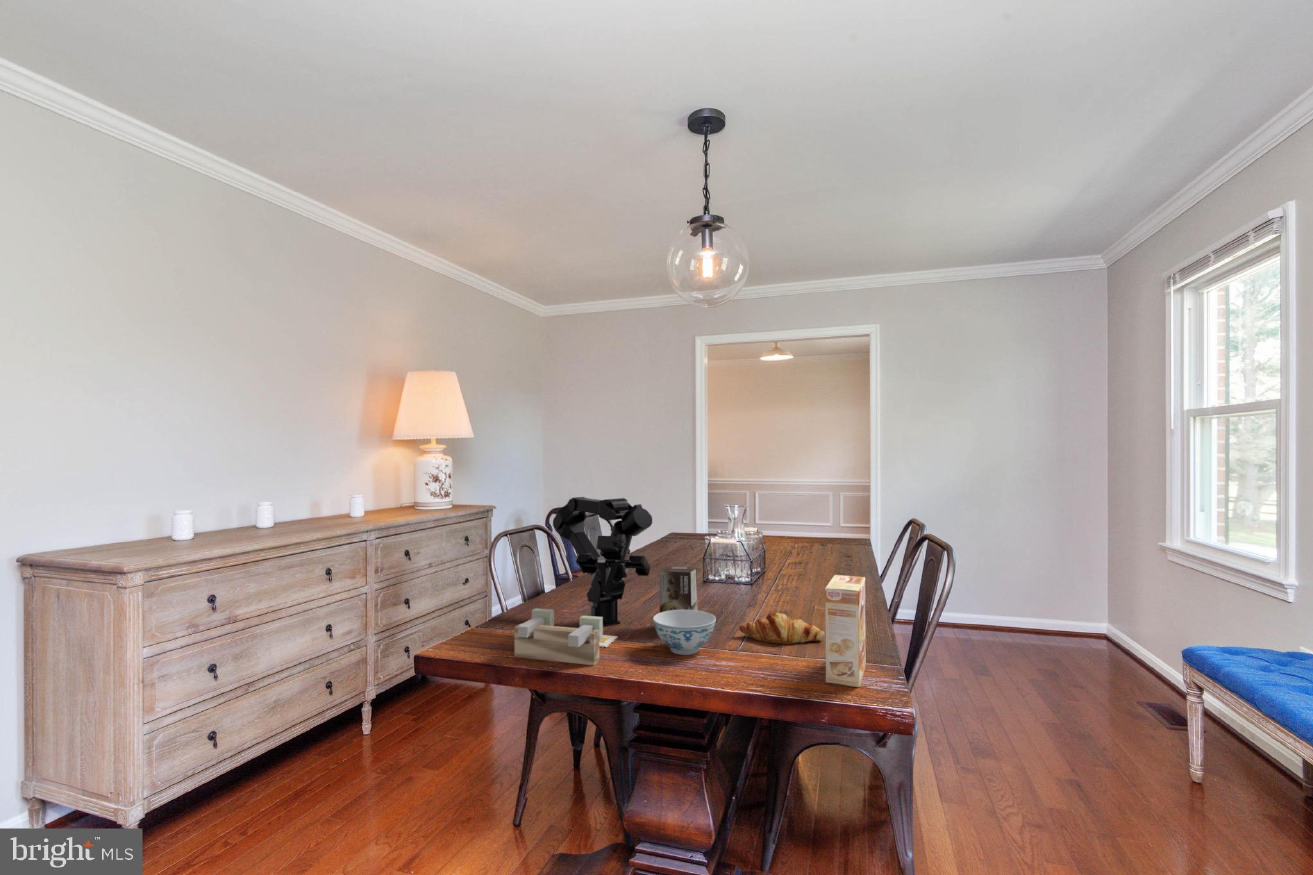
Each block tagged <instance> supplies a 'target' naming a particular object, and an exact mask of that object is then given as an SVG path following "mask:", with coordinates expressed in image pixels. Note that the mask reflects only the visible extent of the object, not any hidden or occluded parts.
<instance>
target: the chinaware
mask: <svg viewBox="0 0 1313 875" xmlns="http://www.w3.org/2000/svg"><path fill="white" fill-rule="evenodd" d="M697 610H698V609H697ZM697 610H671V611H665V612H661V613H660V612H659V613H657V614H655V615H654V616H653V618H652V620H653V621H652V622H653V625H654V628H655V632H656V633H657V636H658V637H659V639H660V640H661V642H663V643H664V644H665V645H666V646H667V647H669V648H670V651H671V652H672V653H674V654H675V655H682V656H686V655H688V656H689V655H694V654H696V653H699V650H700V649H699V648H701V647H702V646H703V645H705V644H706V643H707V642H708V641H709V640H710V638H711V636H712V635H713V632H714V629H715V626H716V622H717V618H716V616H715V615H714V614H712V613H710V612H707V611H702V610H698V611H697Z"/></svg>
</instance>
